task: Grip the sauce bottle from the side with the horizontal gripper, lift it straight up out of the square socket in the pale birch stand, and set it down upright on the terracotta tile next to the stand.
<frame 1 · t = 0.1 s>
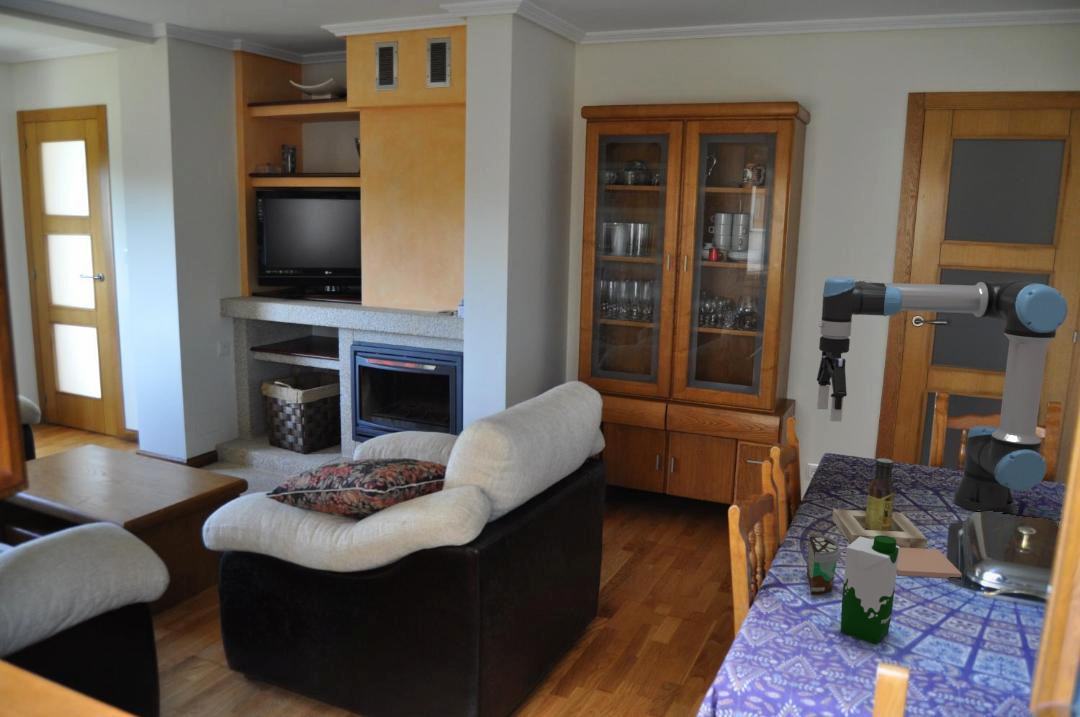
hand: (828, 414, 229), 28 cm above the table, tool pointing down, fingers open, 13 cm apart
food container: (822, 587, 189), on the table
sauce bottle: (876, 535, 220), resting in bottle stand
terracotta tile: (918, 564, 202), on the table
bottle stand: (877, 534, 220), on the table
milk carton: (864, 632, 169), on the table
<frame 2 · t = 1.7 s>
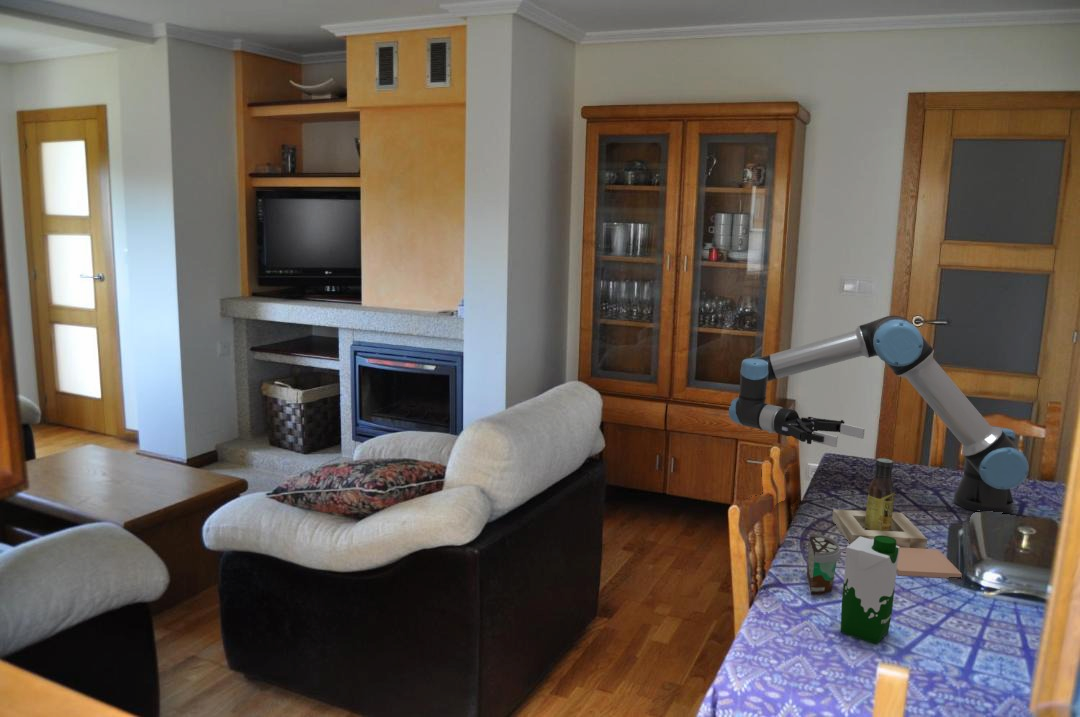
hand: (850, 437, 222), 24 cm above the table, tool horizontal, fingers open, 13 cm apart
nothing on the table moved.
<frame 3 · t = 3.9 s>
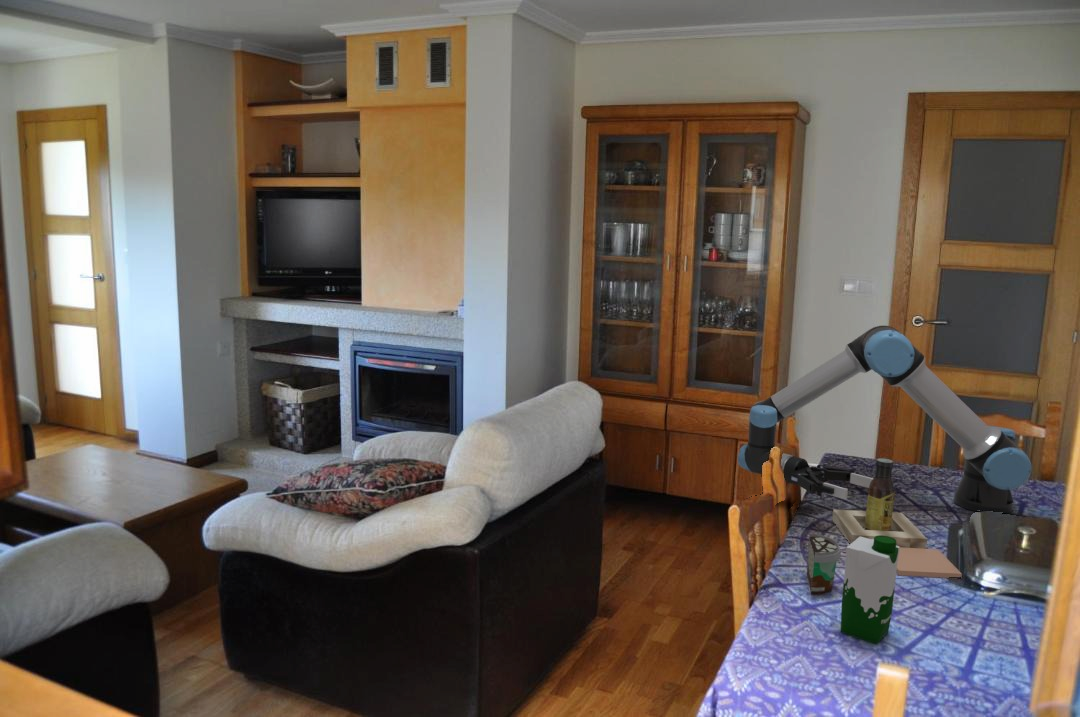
hand: (860, 489, 221), 11 cm above the table, tool horizontal, fingers open, 13 cm apart
nothing on the table moved.
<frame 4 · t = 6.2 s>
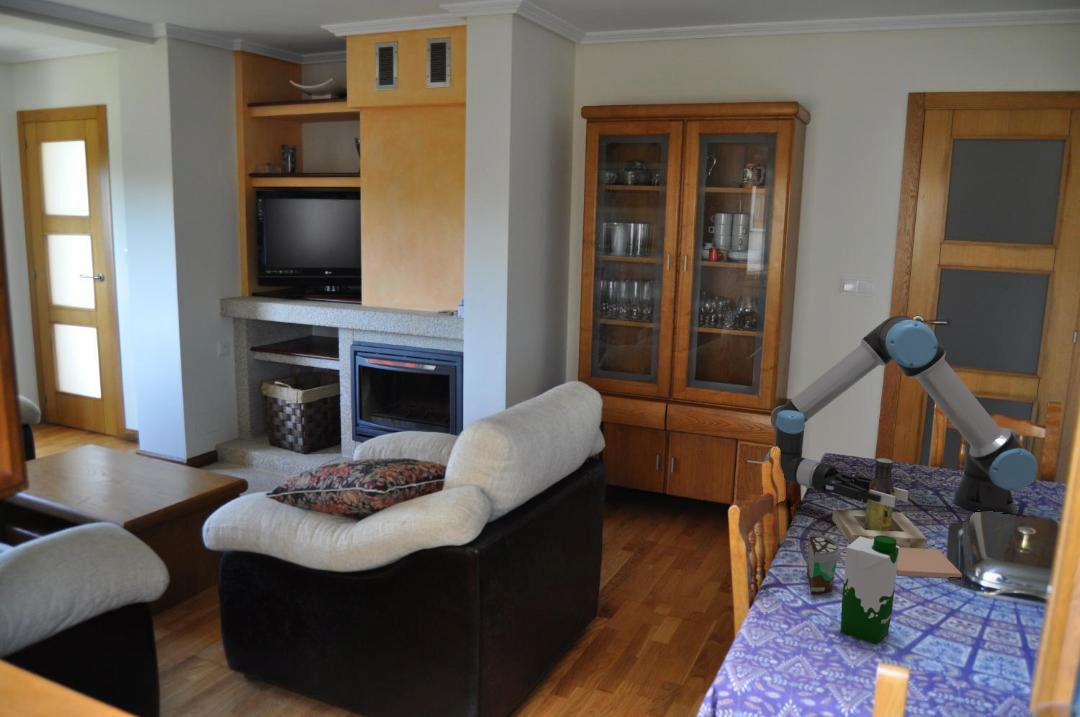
hand: (900, 499, 214), 11 cm above the table, tool horizontal, fingers closed on sauce bottle, 6 cm apart
sauce bottle: (876, 535, 220), resting in bottle stand, touching gripper
everything else where it was.
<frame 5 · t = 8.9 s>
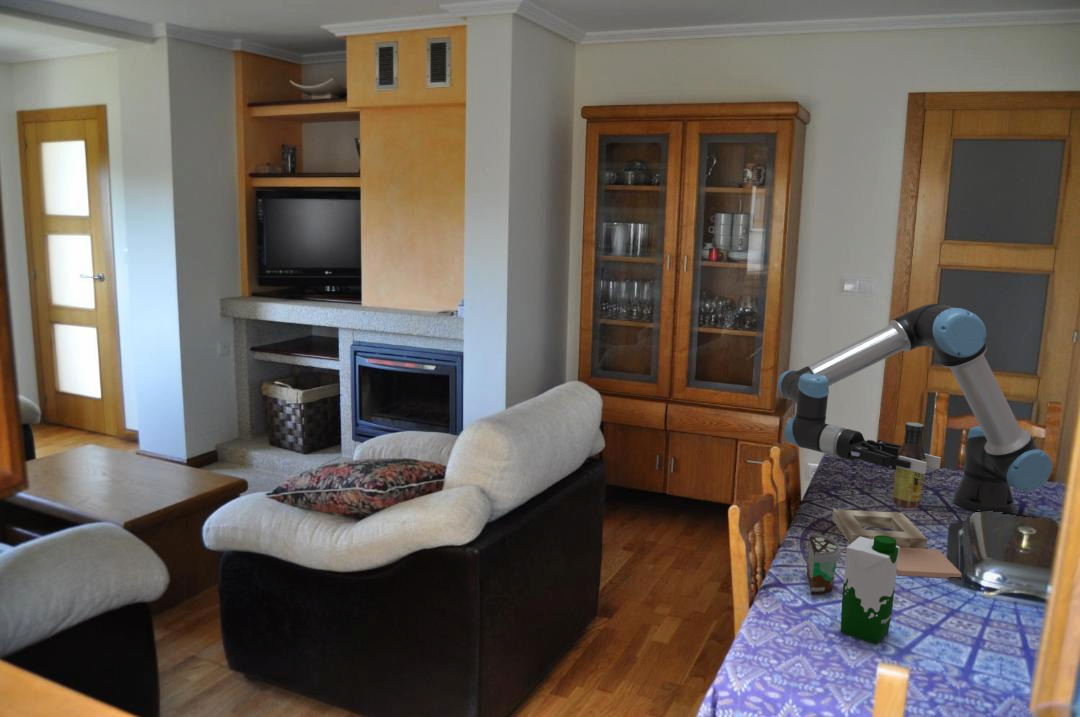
hand: (932, 465, 198), 24 cm above the table, tool horizontal, fingers closed on sauce bottle, 6 cm apart
sauce bottle: (906, 505, 204), point 13 cm above the table, touching gripper
everything else where it was.
when the fingers open (13 cm above the table, at t = 11.6 s): sauce bottle drops 1 cm, resting on terracotta tile.
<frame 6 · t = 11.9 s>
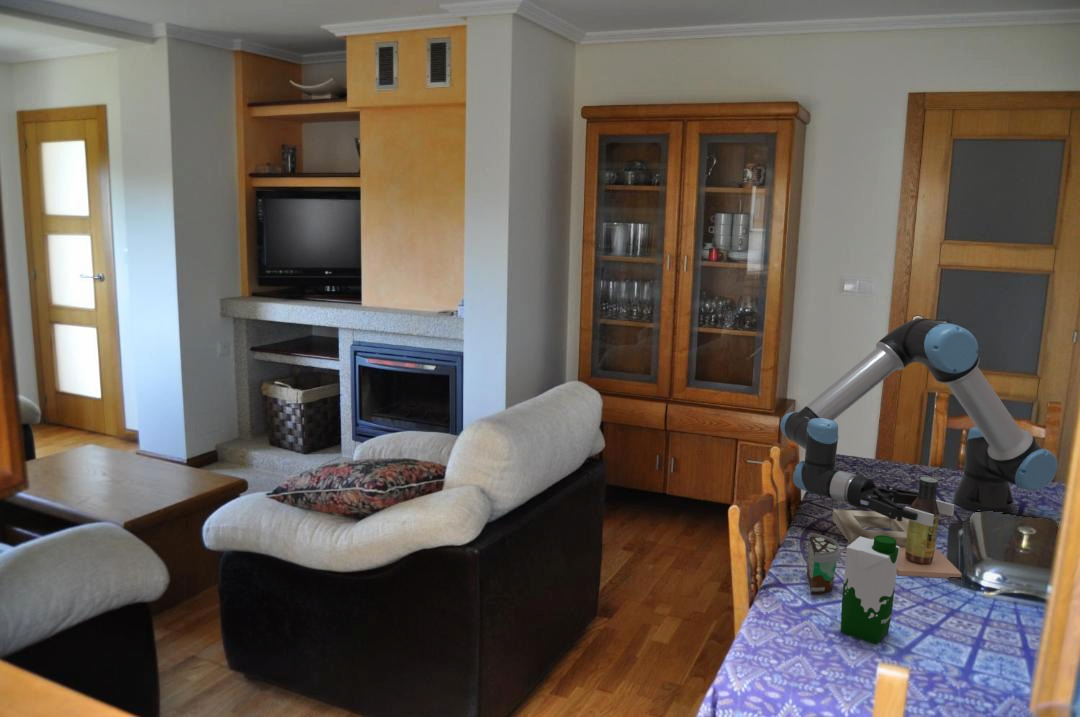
hand: (943, 515, 196), 13 cm above the table, tool horizontal, fingers open, 10 cm apart
sauce bottle: (918, 559, 201), point 1 cm above the table, touching terracotta tile
everything else where it was.
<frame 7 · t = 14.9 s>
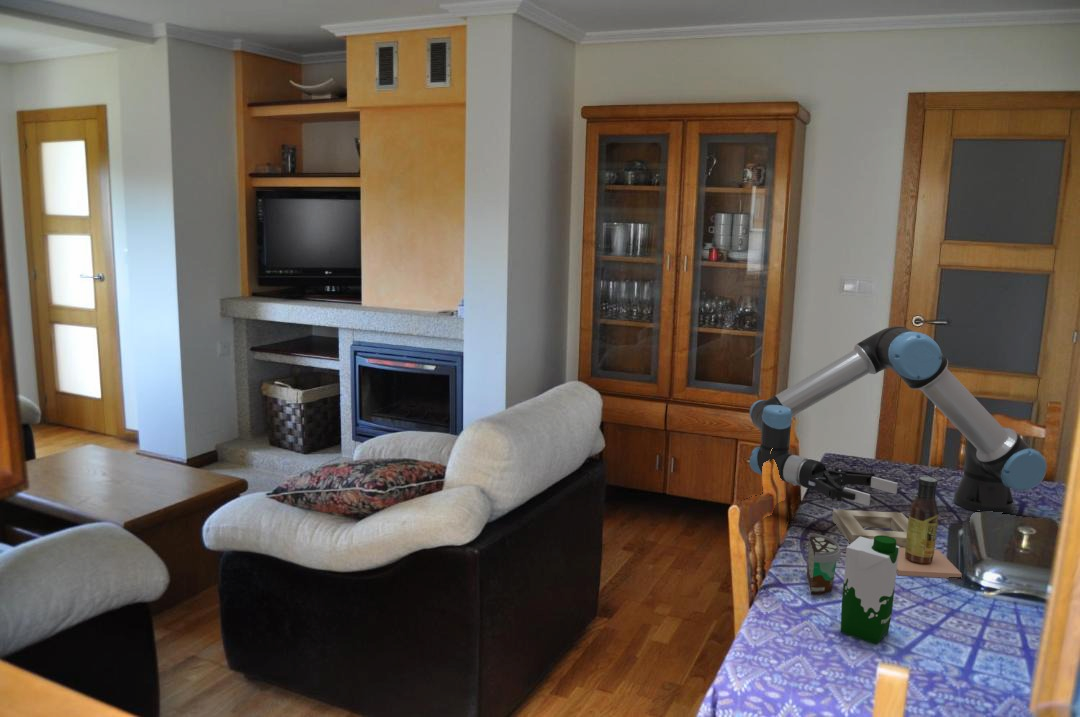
hand: (883, 494, 207), 14 cm above the table, tool horizontal, fingers open, 13 cm apart
nothing on the table moved.
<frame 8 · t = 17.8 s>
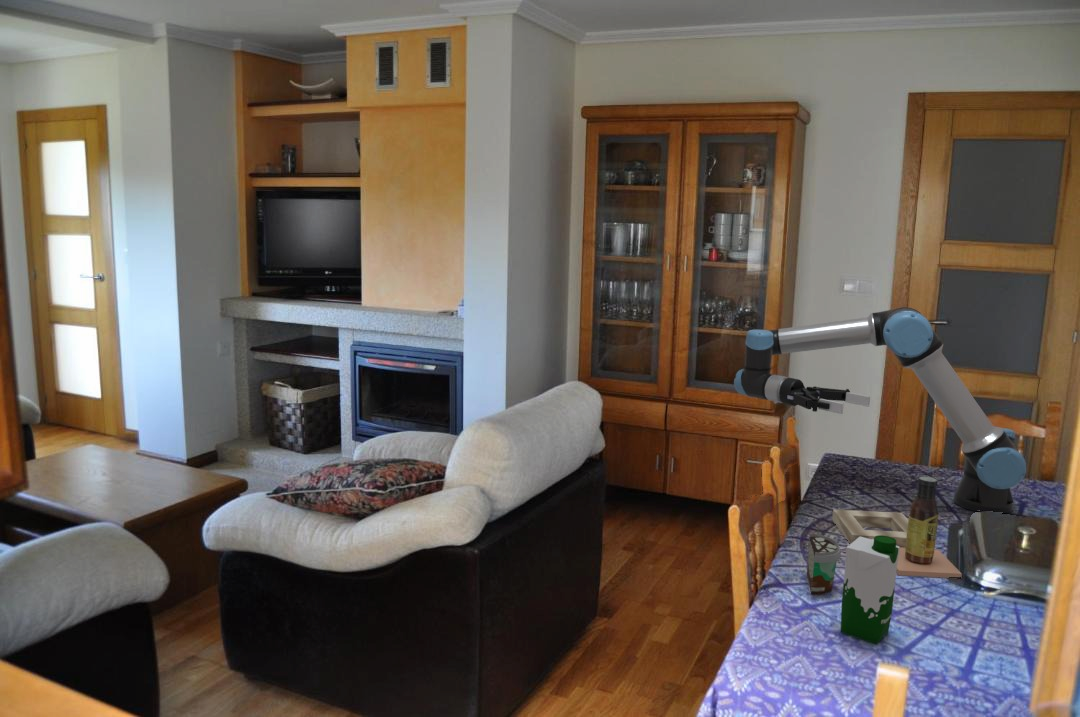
hand: (856, 405, 223), 32 cm above the table, tool horizontal, fingers open, 13 cm apart
nothing on the table moved.
at the end: sauce bottle inside the target area on the terracotta tile (0.1 cm from its centre), point 1.0 cm above the terracotta tile's base; sauce bottle tilted 0°; the gripper is holding nothing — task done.
